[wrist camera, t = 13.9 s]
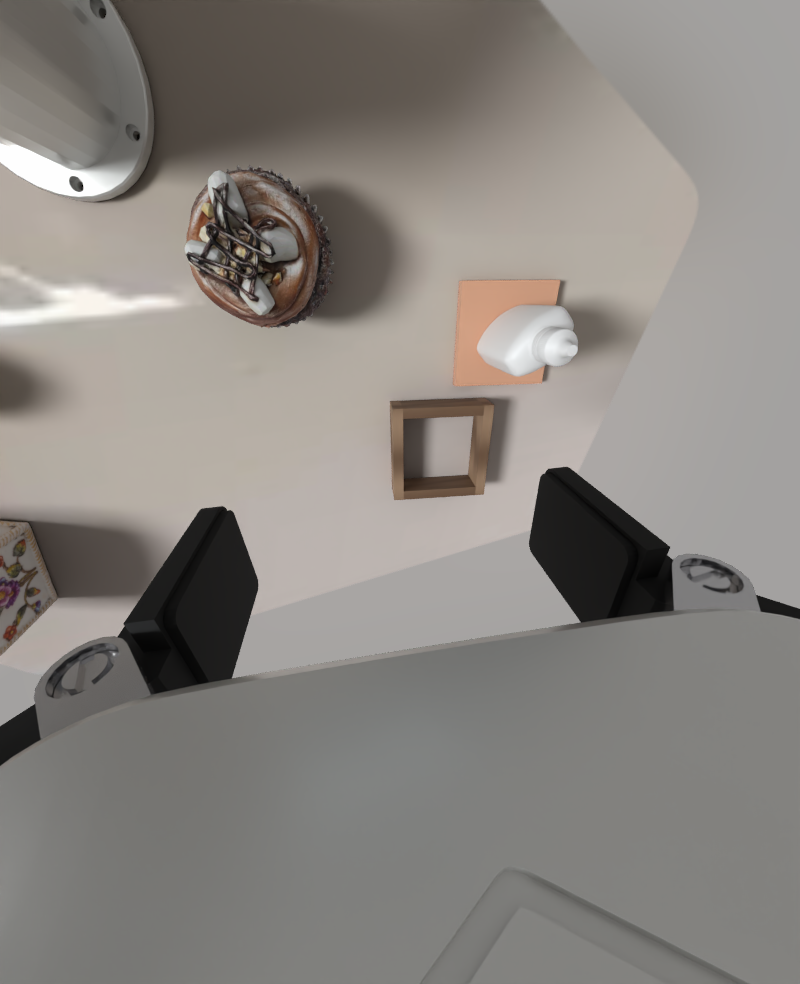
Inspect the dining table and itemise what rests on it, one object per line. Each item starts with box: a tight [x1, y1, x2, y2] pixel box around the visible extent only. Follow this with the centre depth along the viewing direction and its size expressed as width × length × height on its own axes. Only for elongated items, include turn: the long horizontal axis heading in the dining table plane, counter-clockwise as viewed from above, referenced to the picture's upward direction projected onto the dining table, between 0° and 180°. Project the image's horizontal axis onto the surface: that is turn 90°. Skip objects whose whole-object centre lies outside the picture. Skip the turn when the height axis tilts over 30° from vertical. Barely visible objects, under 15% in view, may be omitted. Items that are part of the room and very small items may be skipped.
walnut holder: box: [390, 398, 494, 500], centre depth 37 cm, size 10×10×3 cm
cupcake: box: [184, 165, 334, 328], centre depth 25 cm, size 10×10×10 cm
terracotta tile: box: [453, 280, 560, 386], centre depth 33 cm, size 9×9×1 cm
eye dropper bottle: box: [477, 305, 578, 377], centre depth 27 cm, size 4×6×12 cm
